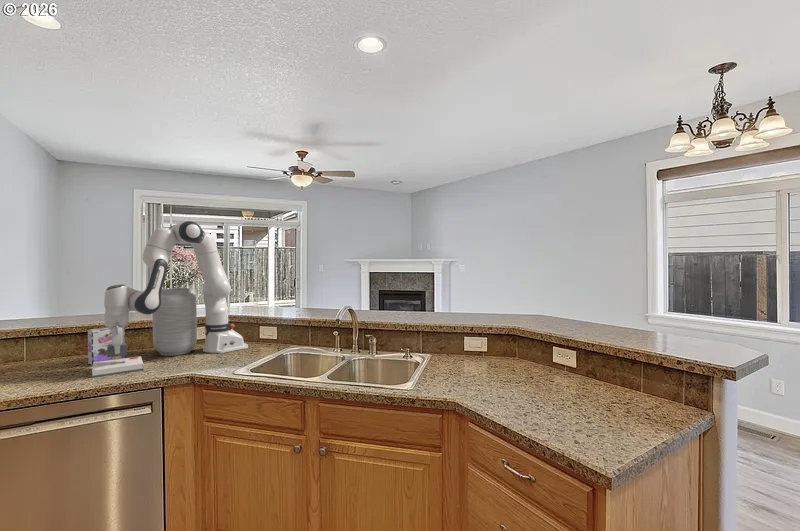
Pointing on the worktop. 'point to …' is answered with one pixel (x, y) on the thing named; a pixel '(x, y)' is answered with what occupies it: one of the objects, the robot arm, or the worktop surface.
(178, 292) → the vase
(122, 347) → the plug
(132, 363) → the socket
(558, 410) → the worktop surface
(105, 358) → the candy box
